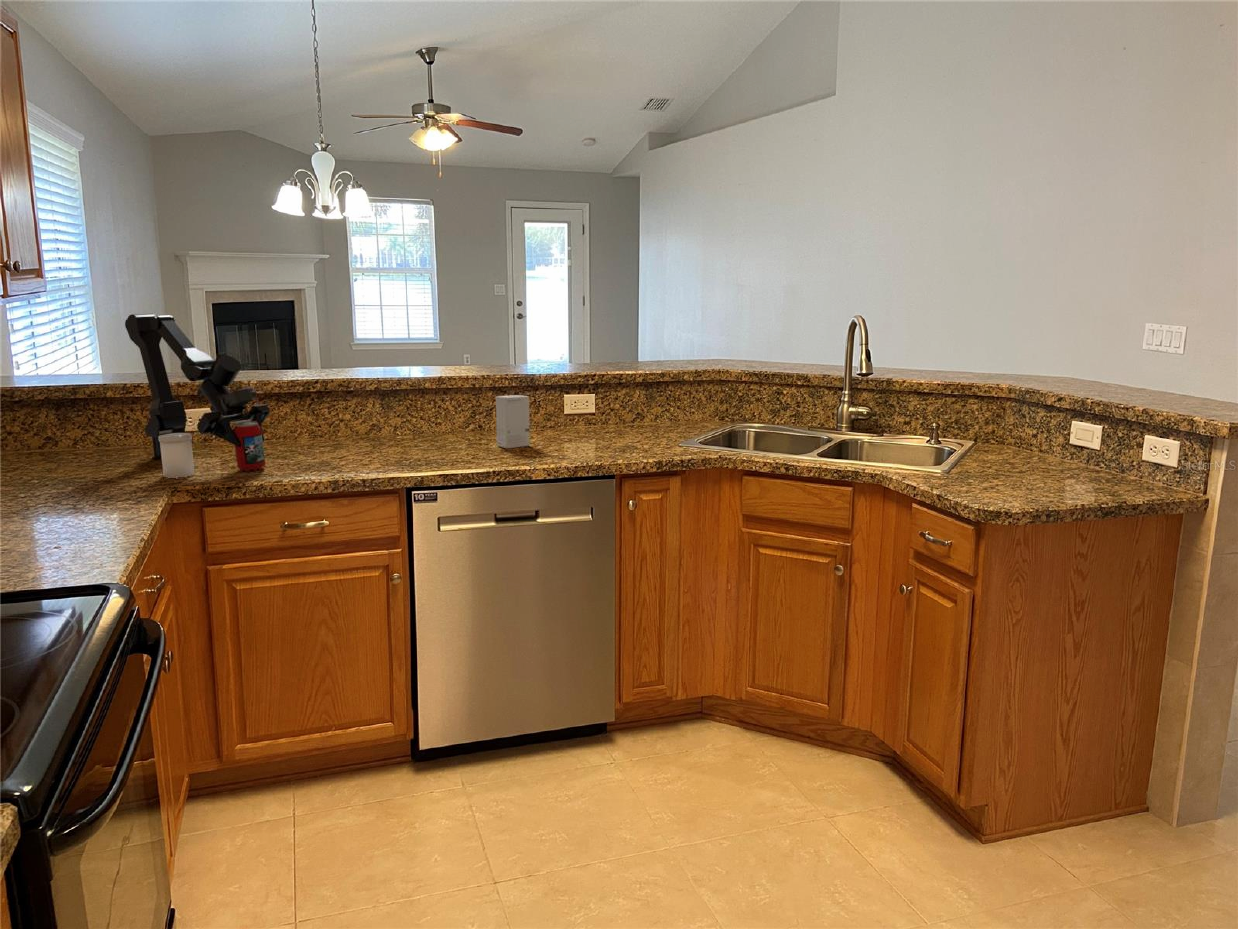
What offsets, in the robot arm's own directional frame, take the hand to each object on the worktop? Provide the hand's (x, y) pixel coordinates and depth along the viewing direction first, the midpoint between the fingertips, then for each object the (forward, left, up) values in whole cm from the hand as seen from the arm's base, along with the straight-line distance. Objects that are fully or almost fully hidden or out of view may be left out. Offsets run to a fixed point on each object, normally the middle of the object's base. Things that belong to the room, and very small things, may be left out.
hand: (251, 443), depth 230 cm
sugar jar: (-17, -4, -7) cm, 19 cm away
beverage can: (-1, +1, -7) cm, 7 cm away
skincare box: (+66, +27, -7) cm, 72 cm away
